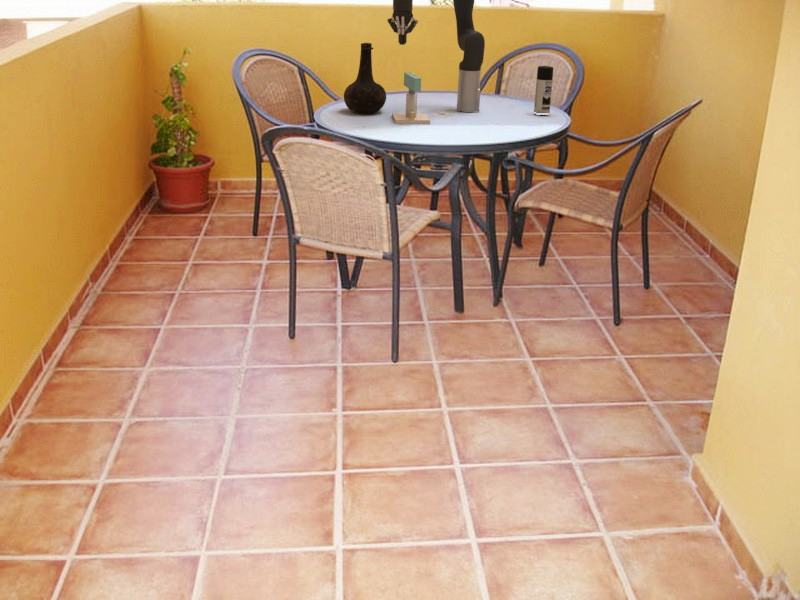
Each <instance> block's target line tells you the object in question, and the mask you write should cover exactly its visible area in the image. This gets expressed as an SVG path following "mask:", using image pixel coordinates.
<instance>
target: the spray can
mask: <svg viewBox="0 0 800 600" xmlns="http://www.w3.org/2000/svg"><path fill="white" fill-rule="evenodd" d="M553 78H554V67H553V66H549V65H540V66H538V65H537V73H536V82H535V83H536V84H535V92H534V93H535V94H534V105H533V107H534V108H533V113H534V112H536V113H549V114H550V113H551V110H550V109H551V101H552V89H553V80H554V79H553Z"/></svg>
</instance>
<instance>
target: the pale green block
mask: <svg viewBox="0 0 800 600" xmlns="http://www.w3.org/2000/svg"><path fill="white" fill-rule="evenodd" d="M403 86H405V87H406V88H408V93H409V94H416V92H421V91H422V89H421V88H422V78H421V77H419V76H417V75H416V74H414V73H412V72H403Z"/></svg>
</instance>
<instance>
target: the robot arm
mask: <svg viewBox="0 0 800 600" xmlns="http://www.w3.org/2000/svg"><path fill="white" fill-rule="evenodd" d="M413 3H414V2H413V0H392V10H393V12H392V16H391V17H390V18H387V23H388V24H389V26H390V28H391V29H392V31H393V32H394V33H395V34H398V38H397V39H398V43H399V45H401V46H402V45H406V43H407V42H408V41H407V39H408V38H407V35H408V34H411V33H412V32H413V30H414V29H415V28H416V26H417V24H418V23H419V21H418V19H415V18H414V15H413V7H414V5H413ZM452 3H453V7H454V8H453V9H454V14H455V15H454V16H455V21H456V36H457V45H458V47H459V49H460V50H461V51H463V58H462V60H461V61H460V62H459V65H458V80H457V94H456V95H457V97H456V99H457V100H456V111H457V110H458V112H461V111H462V112H461V113H475V112H474V111H479V112H480V101H481V100H480V99H481V89H480V87H481V86H480V85H481V84H480V83H481V72H482V71H481V69H482V65H483V62H484V55H485V46H486V45H485V44H486V43H485V37H484V35H483V33H481V32H480V31H477V30H475V25H474V20H473V19H474V18H473V13H474V12H473V11H474V10H473V9H474V5H475V0H452Z"/></svg>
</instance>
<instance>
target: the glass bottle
mask: <svg viewBox="0 0 800 600" xmlns="http://www.w3.org/2000/svg"><path fill="white" fill-rule="evenodd" d="M372 44H373V43H370V42H363V43H360V56H359V67H358V73H357V76H356V79H355V80H354V82H352V83H351V84H349V85H348V86H347V87H346V88H345V90H344V92H343V101H344V104H345V105H346V108H347V109H348V110H350V111H351V112H353V113H356V114H360V115H361V114H362V115H363V114H364V115H369V114H375V113H378V112H379V111H380V110H381V109H382V108H383V107H384V106H385V103H386V102H387V101H386V100H387V93H386V90H385V87H383V85H381V84H380V83H378V82H375V80H374V76H373V67H372V66H373V62H372V50H373V49H374V47H372Z"/></svg>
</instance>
